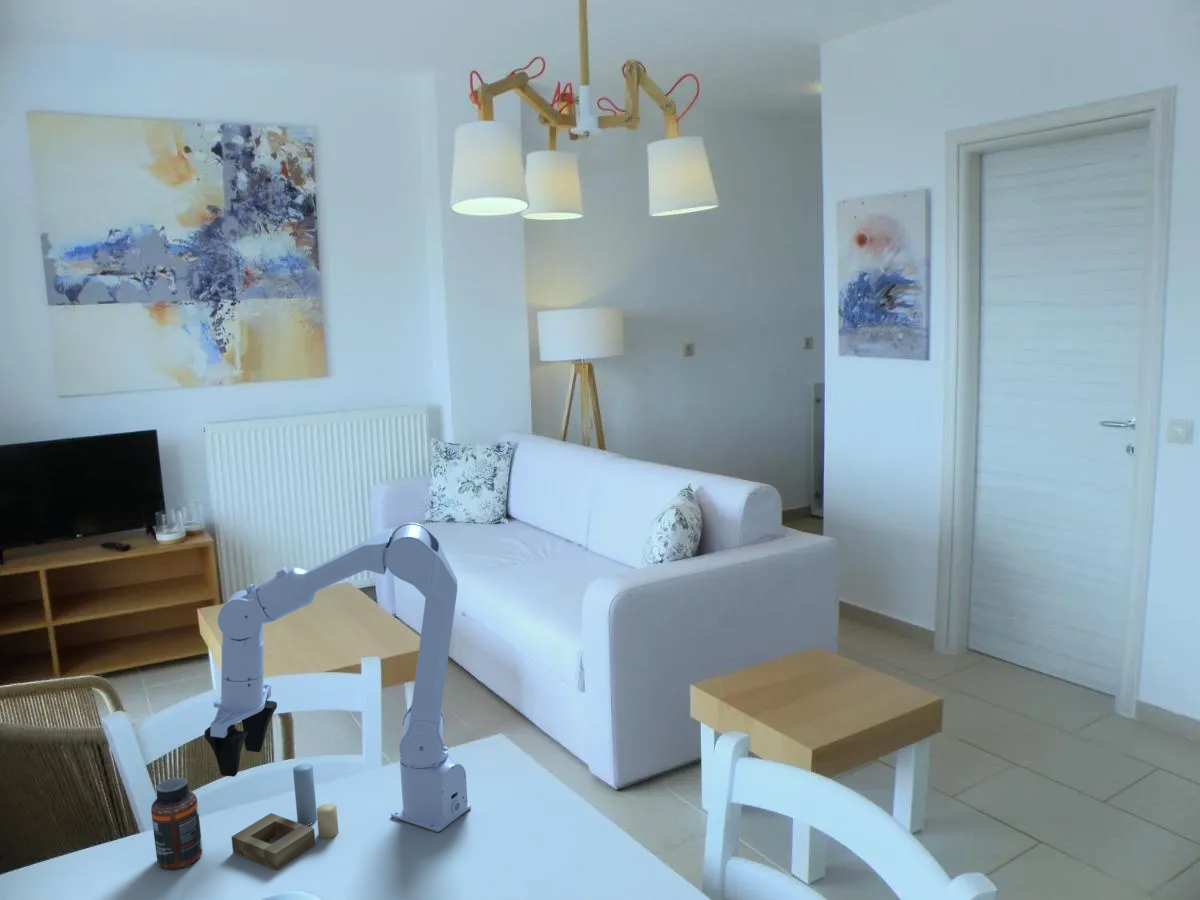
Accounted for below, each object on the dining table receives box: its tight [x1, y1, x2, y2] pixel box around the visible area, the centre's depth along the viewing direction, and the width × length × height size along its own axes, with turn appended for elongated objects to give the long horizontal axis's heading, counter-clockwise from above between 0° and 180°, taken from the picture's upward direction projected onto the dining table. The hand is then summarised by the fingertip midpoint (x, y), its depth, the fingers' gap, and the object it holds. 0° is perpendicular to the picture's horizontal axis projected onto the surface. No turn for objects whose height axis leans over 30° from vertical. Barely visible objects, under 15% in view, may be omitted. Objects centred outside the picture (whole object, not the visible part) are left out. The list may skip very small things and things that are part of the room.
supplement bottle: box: [150, 777, 203, 870], centre depth 132 cm, size 6×6×11 cm
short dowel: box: [316, 802, 339, 840], centre depth 138 cm, size 3×3×4 cm
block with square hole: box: [231, 812, 316, 871], centre depth 135 cm, size 9×7×2 cm
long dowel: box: [292, 763, 317, 826], centre depth 141 cm, size 3×3×8 cm
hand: (241, 762), depth 138 cm, fingers open, 7 cm apart
